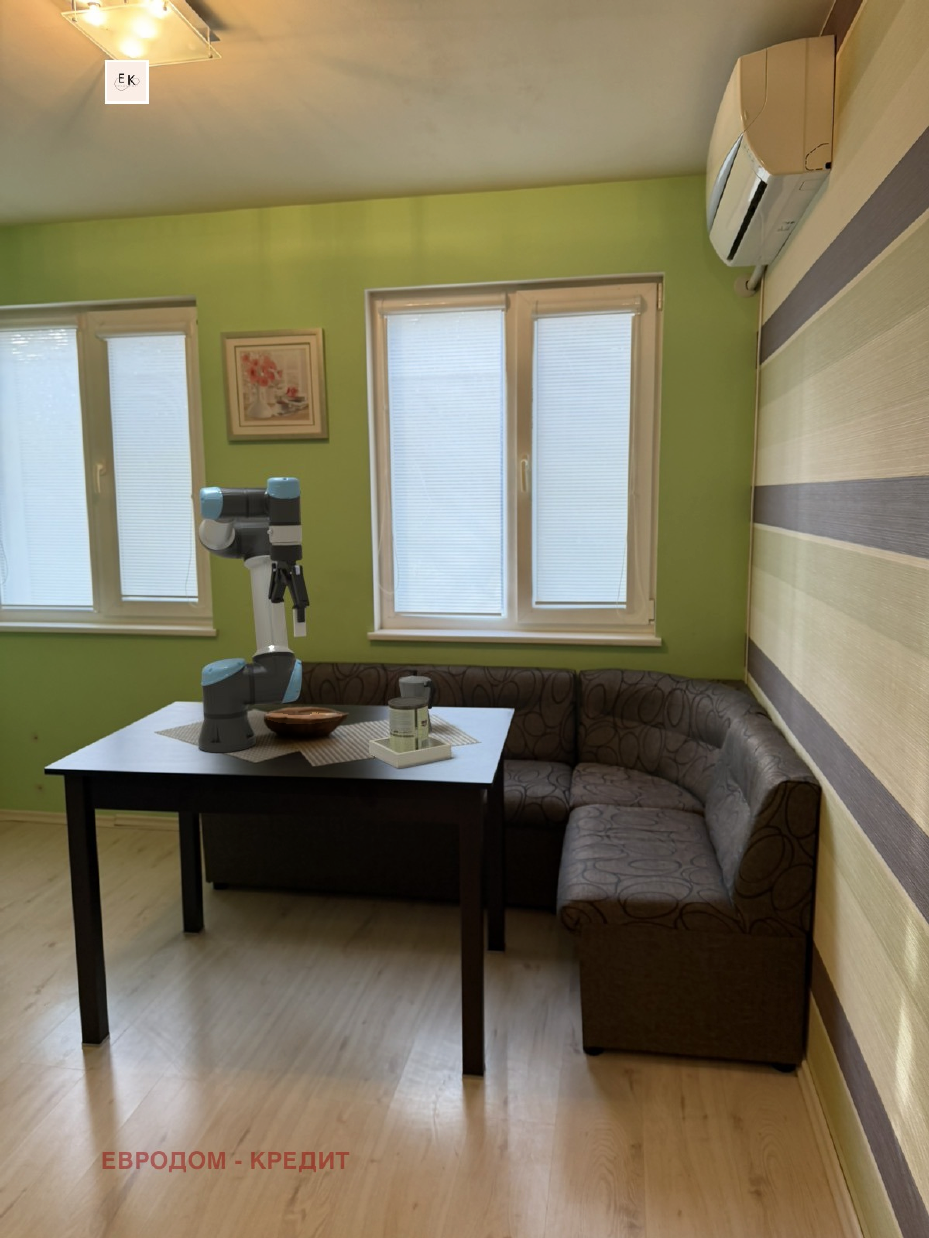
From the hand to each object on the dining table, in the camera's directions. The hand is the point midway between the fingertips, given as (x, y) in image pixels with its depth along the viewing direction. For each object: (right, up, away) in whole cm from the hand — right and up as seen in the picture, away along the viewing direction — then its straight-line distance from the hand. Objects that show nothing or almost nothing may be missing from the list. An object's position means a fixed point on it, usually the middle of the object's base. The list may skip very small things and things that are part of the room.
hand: (289, 632), depth 203 cm
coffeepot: (+29, -29, +42) cm, 58 cm away
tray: (+28, -32, +17) cm, 46 cm away
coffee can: (+28, -32, +17) cm, 46 cm away
